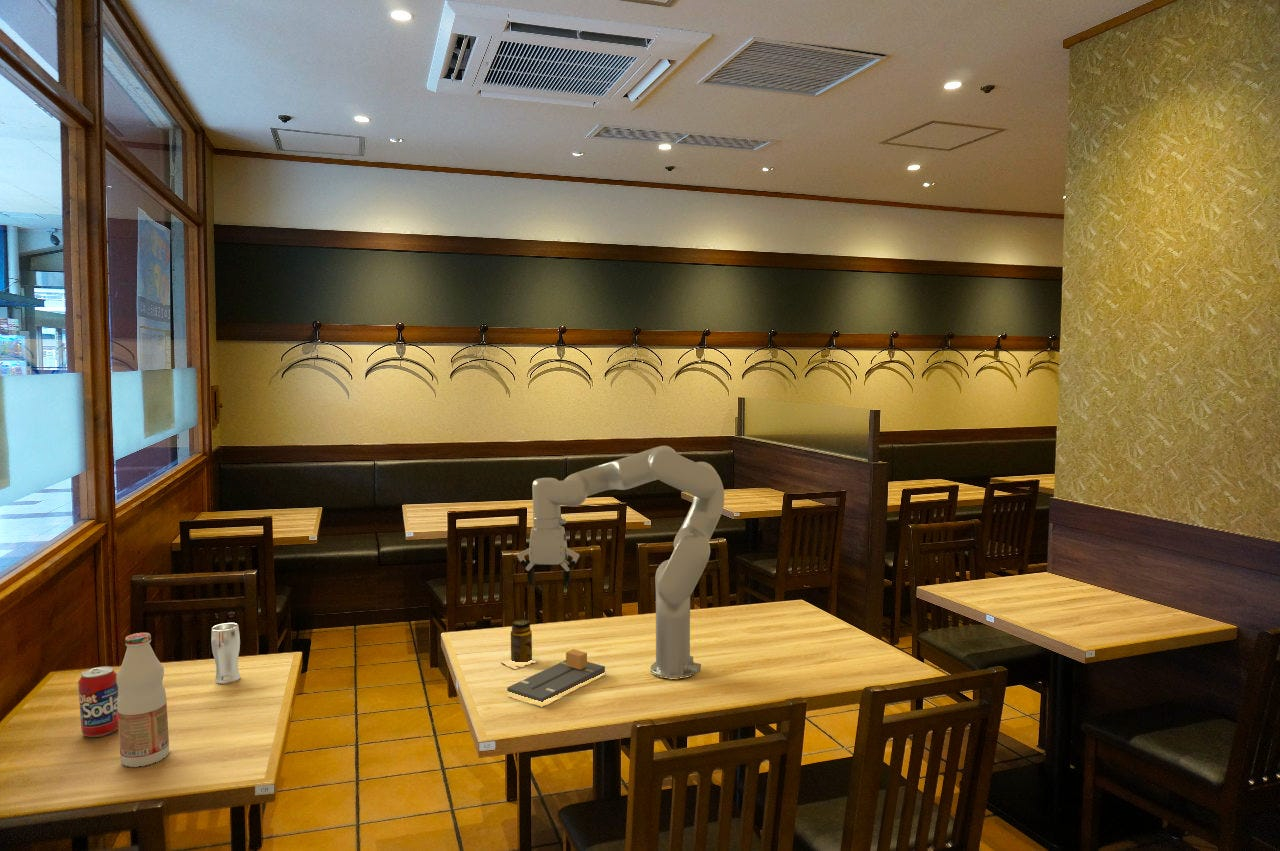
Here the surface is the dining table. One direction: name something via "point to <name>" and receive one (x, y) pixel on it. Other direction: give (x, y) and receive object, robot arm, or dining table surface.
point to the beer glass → (226, 652)
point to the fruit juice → (141, 704)
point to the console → (555, 680)
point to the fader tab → (576, 659)
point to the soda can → (98, 701)
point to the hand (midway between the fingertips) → (549, 583)
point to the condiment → (521, 641)
